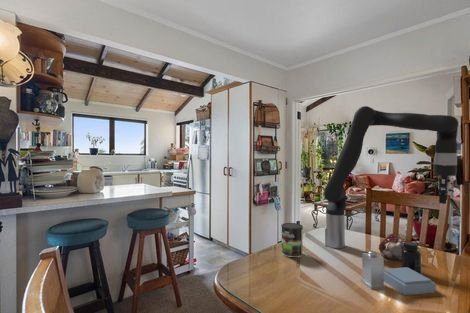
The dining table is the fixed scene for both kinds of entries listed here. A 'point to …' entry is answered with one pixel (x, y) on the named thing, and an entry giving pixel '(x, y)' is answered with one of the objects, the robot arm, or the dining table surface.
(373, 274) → the block
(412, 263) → the supplement bottle
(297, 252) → the coffee can
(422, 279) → the stand
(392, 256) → the brake caliper
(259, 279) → the dining table surface
